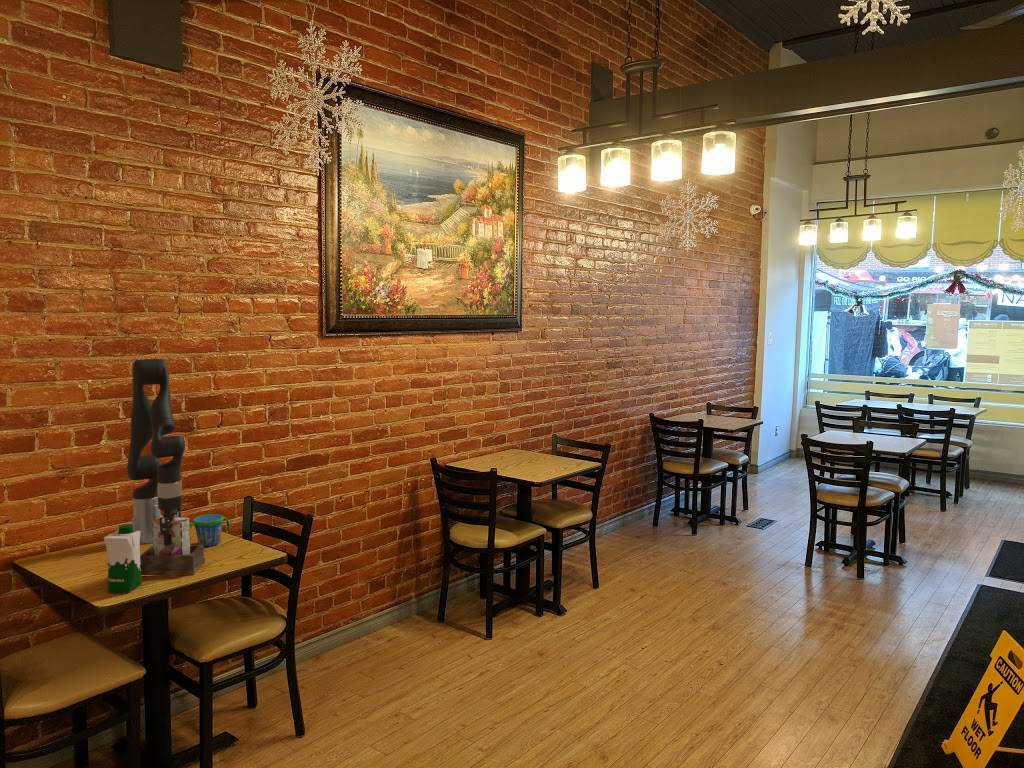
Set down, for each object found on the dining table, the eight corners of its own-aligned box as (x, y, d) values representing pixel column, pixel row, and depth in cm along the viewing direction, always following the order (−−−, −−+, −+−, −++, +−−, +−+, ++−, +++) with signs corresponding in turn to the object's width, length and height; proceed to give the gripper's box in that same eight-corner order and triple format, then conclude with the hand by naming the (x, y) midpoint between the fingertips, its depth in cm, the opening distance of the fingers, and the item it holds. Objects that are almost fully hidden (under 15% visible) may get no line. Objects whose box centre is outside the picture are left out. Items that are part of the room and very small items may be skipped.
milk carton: (145, 584, 237) (143, 524, 234) (129, 594, 228) (127, 532, 225) (119, 583, 237) (116, 523, 235) (102, 594, 228) (99, 531, 226)
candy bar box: (152, 566, 248) (151, 519, 246) (162, 561, 253) (160, 515, 251) (182, 568, 246) (181, 521, 245) (191, 563, 251) (190, 517, 250)
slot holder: (138, 576, 243) (137, 557, 242) (151, 563, 255) (151, 545, 254) (194, 574, 245) (193, 555, 244) (205, 562, 257) (204, 544, 256)
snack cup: (191, 551, 268) (190, 524, 267) (184, 544, 276) (183, 518, 275) (234, 543, 277) (233, 517, 276) (226, 536, 286) (225, 511, 285)
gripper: (165, 489, 254) (167, 535, 256) (150, 500, 240) (152, 549, 241) (188, 489, 255) (189, 535, 257) (173, 499, 241) (175, 548, 242)
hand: (171, 541), depth 249 cm, fingers open, 6 cm apart
